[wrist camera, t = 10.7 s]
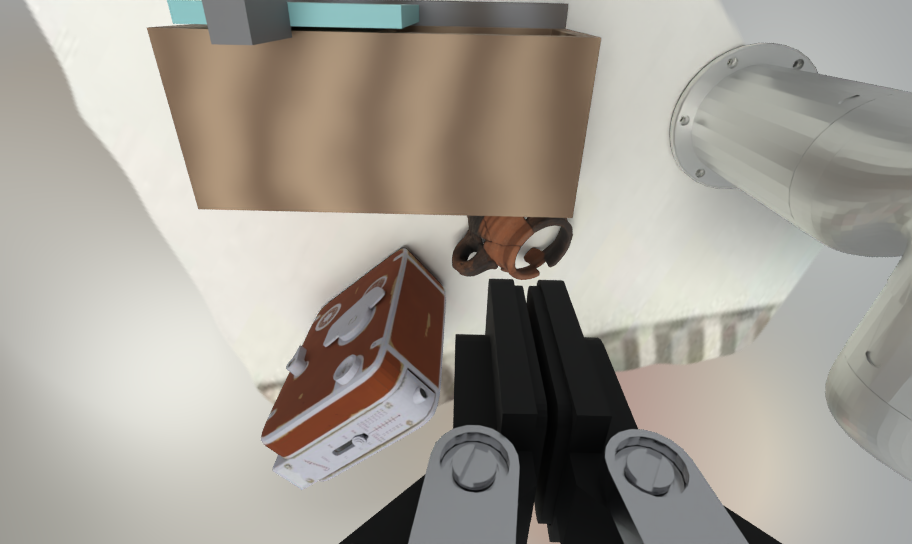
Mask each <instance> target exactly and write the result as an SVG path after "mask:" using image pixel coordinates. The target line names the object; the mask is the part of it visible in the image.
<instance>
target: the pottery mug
mask: <svg viewBox="0 0 912 544" xmlns="http://www.w3.org/2000/svg"><path fill="white" fill-rule="evenodd" d="M467 217H468V223H469V230H468V232H467V234H466V235H465V237H464V238H463V239H462V240H461V241H460V242H459V243H458V244H457V246H456V247H455V249H454V251H453V255H452V266H453V268H454V269H455V270H457V271H458V272H459V273H460V274H461V275H464V276H475V275H478V274H480V273H482V272H484V271H486V270H489V269H497V268H498V266H500V267H501V270H502V271H504V272H509V274H510V275H511V276H512V277H514V278H516V279H519V280H527V279H532V278H535V277H537V276H539V274H540V272H539V271H538V270H537V269H536V268H538V267H539V266H541V265H542V264H543V263H545V262H546V263H547V264H548V266H549V267H552V266H554V265H556V264H557V263H558V262H559V261H560V260H561V258H562V257H563V256H564V255H565V253H566V251H567V250H568V248H569V246H570V243H571V240H572V236H573V233H572V232H573V231H572V226H571V224H570V223H569V222H568V221H567V218H555V217H527V219H526V220H525V218H524V217H513V216H470V215H467ZM554 225H556V226H561V228H560V231H559V233H558V236H557V237H556V239H555V240H554V241H553V243H551V244H550V245H549V246H548V247H547V248H545V249H544V250H543V251H541V250H539V249H536V248H532V249H530V250H529V251H528V252H527V253H526V255H525V256H524V260H525V261H526V262H528V263H529V264H530V265H529V266H527V267H524V268H519V269H516V268H515V259H516V256H517V253H518V251H519V250H520V248H521V246H522V245H523V244H524V243H525V241H526V240H527V239H528V238H529V237H531V236H532V235H533V234H534V233H535V232H537V231H539V230H541V229H543V228H545V227H548V226H554ZM481 238H483V239H485V242H484V244H483V242H482V239H481ZM473 252H477V253H476V254H475V256H474V257H473V258H471V259H470V260H468V261H467V259H468V257H469V255H470V254H471V253H473Z"/></svg>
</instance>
